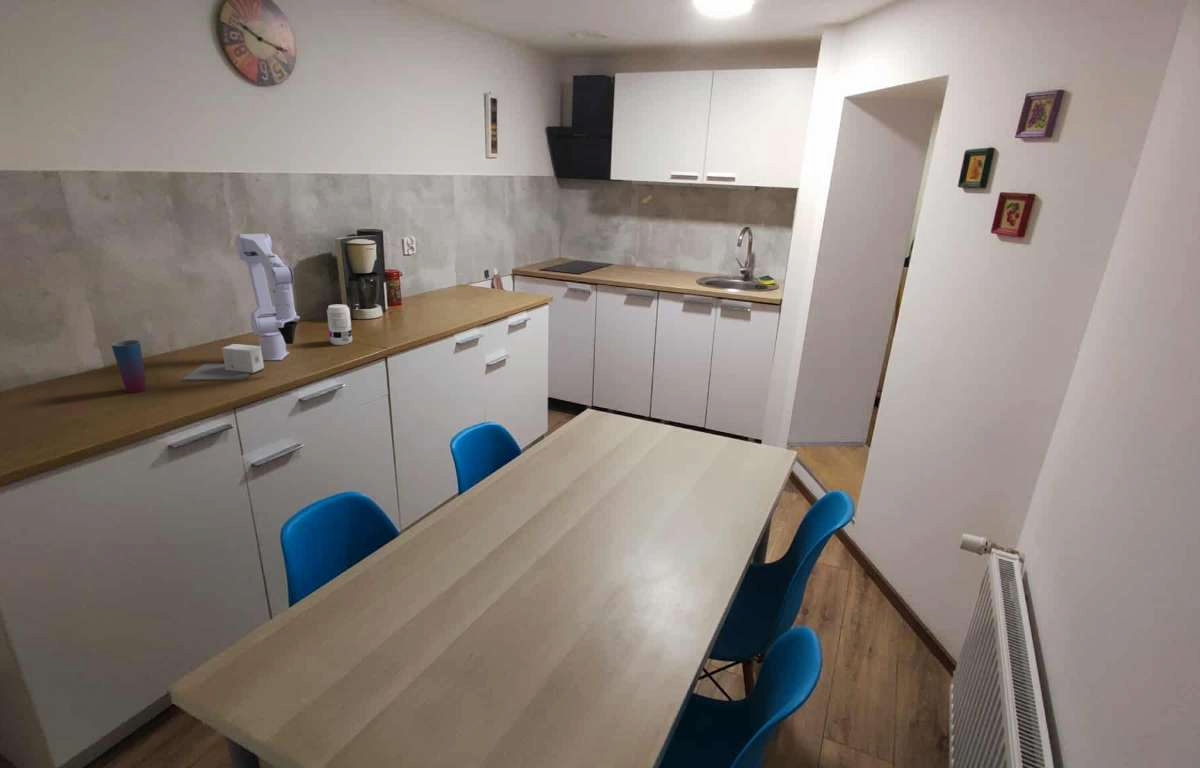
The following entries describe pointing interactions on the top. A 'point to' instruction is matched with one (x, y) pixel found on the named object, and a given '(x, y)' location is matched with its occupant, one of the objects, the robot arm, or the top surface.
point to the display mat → (214, 373)
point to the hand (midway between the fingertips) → (289, 343)
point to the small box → (243, 358)
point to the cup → (130, 364)
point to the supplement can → (339, 324)
